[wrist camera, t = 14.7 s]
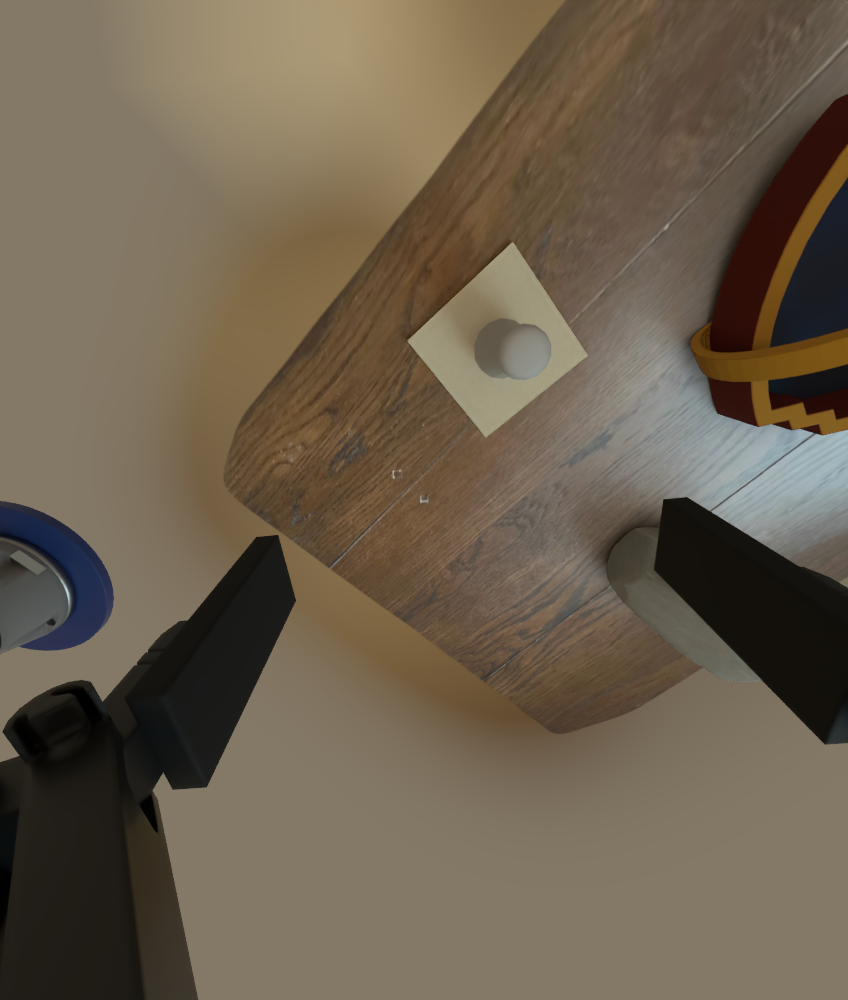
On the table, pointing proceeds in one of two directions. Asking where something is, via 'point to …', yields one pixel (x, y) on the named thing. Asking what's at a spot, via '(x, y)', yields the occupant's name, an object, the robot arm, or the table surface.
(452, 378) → the placemat
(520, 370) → the salt shaker
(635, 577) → the decorative stone
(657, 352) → the table surface
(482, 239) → the table surface
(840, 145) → the decorative basket
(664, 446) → the table surface
